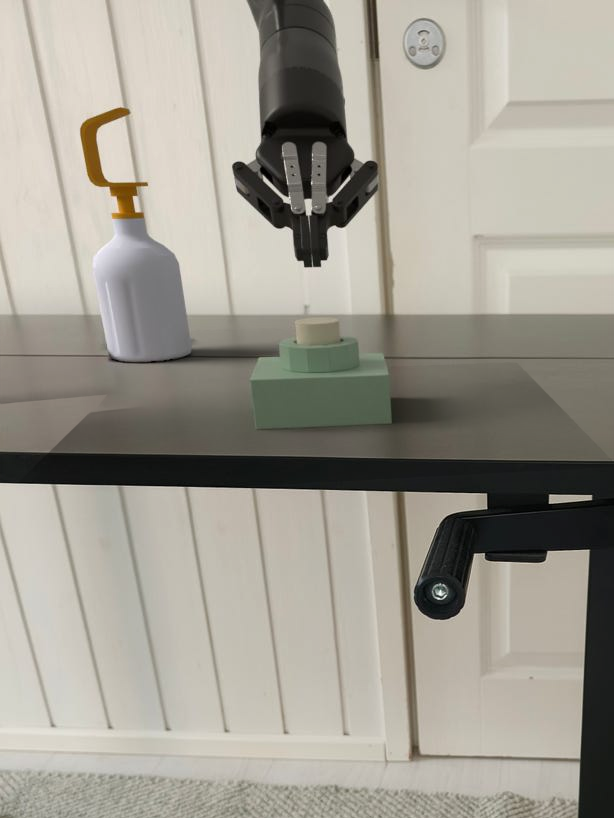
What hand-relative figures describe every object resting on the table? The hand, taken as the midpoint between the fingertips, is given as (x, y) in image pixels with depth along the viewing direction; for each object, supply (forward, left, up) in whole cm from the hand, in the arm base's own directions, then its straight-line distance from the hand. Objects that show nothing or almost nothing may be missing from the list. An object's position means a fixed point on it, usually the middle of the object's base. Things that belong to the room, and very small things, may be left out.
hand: (312, 260), depth 76 cm
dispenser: (-1, -3, -12) cm, 12 cm away
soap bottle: (-12, +33, -12) cm, 37 cm away
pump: (-1, -3, -6) cm, 7 cm away
